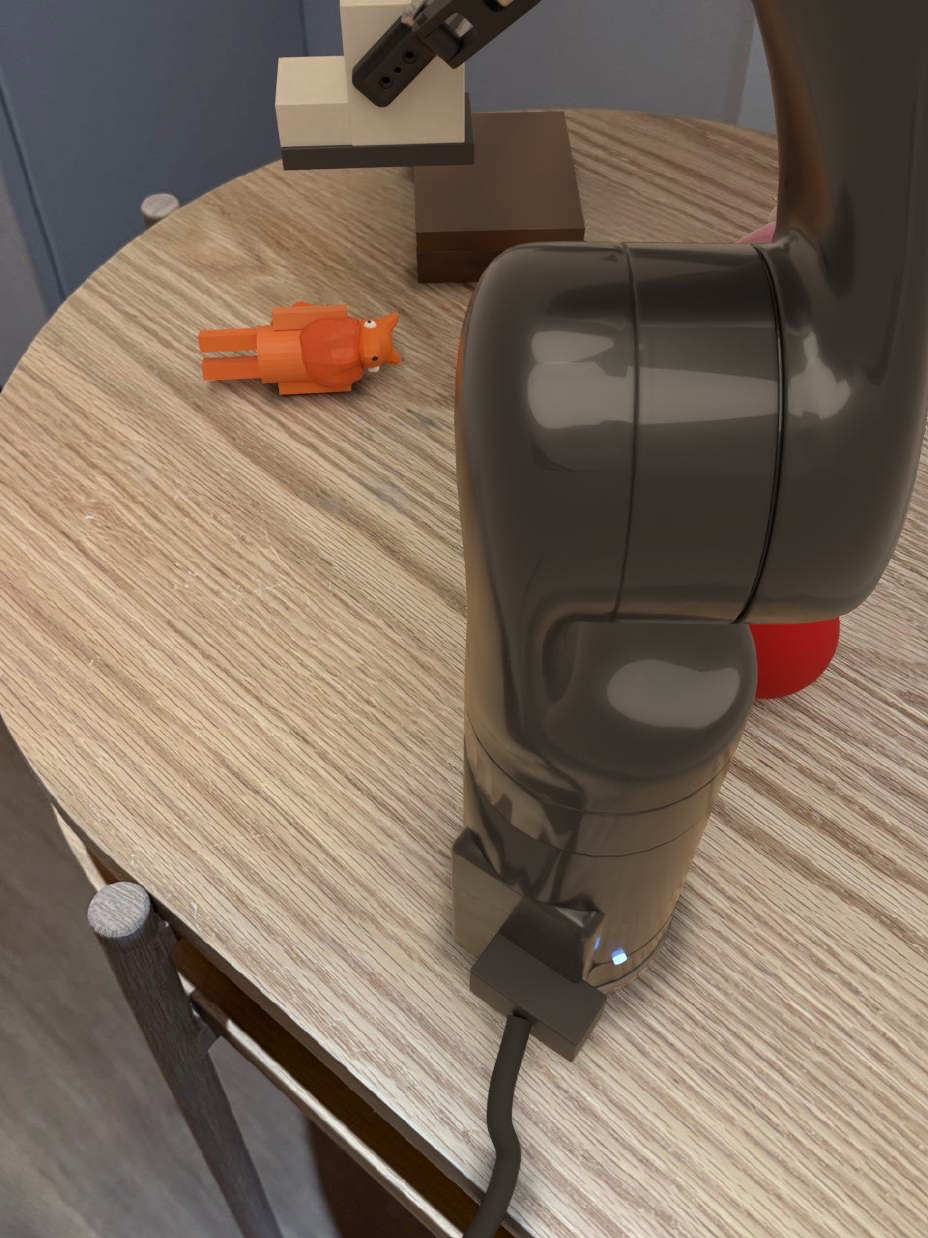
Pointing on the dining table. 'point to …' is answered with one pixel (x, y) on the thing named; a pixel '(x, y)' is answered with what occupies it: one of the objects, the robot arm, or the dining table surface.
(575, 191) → the brown lidded case
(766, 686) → the christmas ornament
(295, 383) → the orange toy figure
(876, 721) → the dining table surface
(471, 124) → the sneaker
